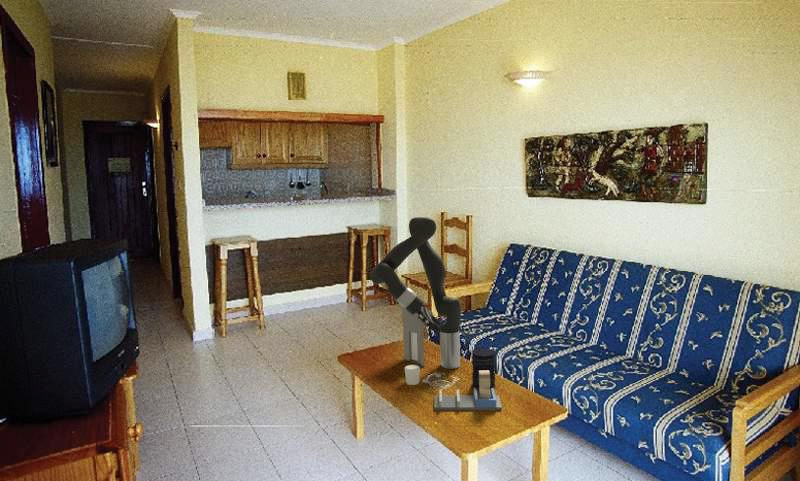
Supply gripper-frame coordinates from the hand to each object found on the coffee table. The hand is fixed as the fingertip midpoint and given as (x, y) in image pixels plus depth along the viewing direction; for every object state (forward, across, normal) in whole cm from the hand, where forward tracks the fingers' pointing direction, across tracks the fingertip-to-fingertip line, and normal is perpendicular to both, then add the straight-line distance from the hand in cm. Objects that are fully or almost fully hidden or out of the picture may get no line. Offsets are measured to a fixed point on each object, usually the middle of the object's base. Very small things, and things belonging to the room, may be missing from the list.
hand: (438, 327), depth 219 cm
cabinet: (+11, +41, +30) cm, 52 cm away
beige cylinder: (+12, +12, +29) cm, 34 cm away
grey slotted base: (+28, -10, +13) cm, 32 cm away
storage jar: (+34, +9, +7) cm, 36 cm away
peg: (+32, -10, +7) cm, 34 cm away
